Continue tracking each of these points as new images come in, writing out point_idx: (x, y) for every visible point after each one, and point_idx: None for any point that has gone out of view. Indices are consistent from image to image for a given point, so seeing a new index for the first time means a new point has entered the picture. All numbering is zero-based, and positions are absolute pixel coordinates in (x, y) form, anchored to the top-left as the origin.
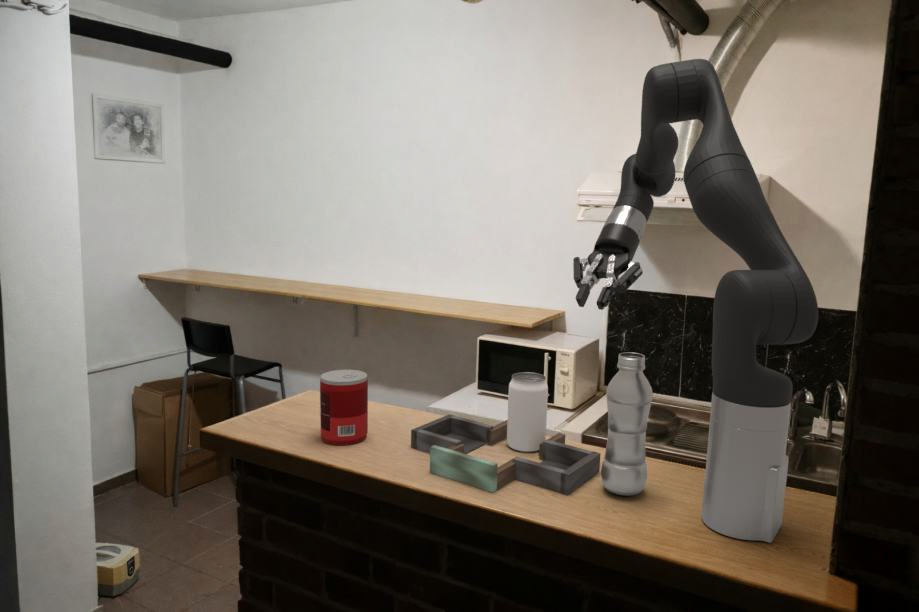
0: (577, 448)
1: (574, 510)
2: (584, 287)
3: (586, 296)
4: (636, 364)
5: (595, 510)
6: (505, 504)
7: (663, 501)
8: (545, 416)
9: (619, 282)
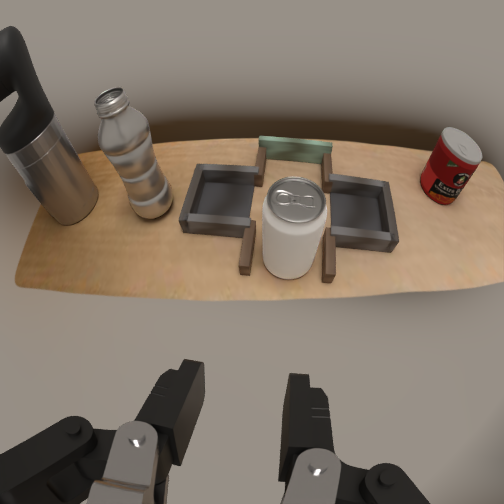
0: (206, 219)
1: (188, 161)
2: (298, 431)
3: (282, 439)
4: (107, 96)
5: (173, 168)
6: (241, 145)
7: (122, 207)
8: (262, 234)
9: (69, 422)
